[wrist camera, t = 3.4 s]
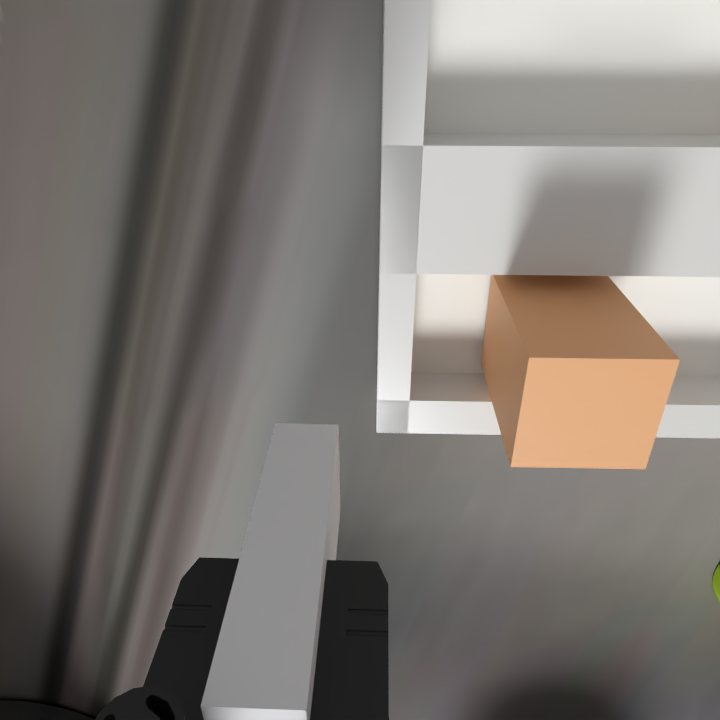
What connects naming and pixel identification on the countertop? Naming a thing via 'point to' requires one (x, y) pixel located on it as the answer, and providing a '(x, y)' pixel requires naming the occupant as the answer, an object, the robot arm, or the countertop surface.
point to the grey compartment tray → (545, 187)
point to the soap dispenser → (716, 582)
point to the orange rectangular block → (573, 372)
